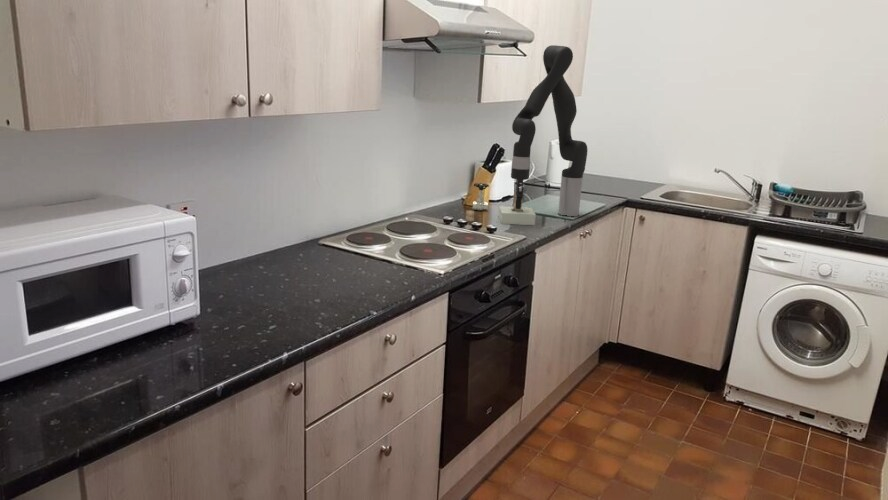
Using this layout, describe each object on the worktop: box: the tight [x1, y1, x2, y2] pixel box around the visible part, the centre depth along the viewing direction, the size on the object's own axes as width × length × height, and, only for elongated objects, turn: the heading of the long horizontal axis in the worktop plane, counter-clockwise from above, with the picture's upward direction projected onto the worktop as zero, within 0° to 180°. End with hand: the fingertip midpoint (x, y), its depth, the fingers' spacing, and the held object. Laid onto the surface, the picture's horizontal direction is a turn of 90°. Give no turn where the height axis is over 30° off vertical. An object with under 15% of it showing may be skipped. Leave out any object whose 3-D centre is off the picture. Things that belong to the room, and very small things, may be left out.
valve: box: [472, 182, 490, 211], centre depth 292 cm, size 7×7×12 cm
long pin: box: [512, 191, 523, 212], centre depth 274 cm, size 4×4×10 cm
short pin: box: [465, 209, 475, 223], centre depth 272 cm, size 4×4×4 cm
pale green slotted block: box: [498, 205, 537, 226], centre depth 275 cm, size 14×14×4 cm
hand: (517, 207), depth 274 cm, fingers closed on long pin, 3 cm apart
